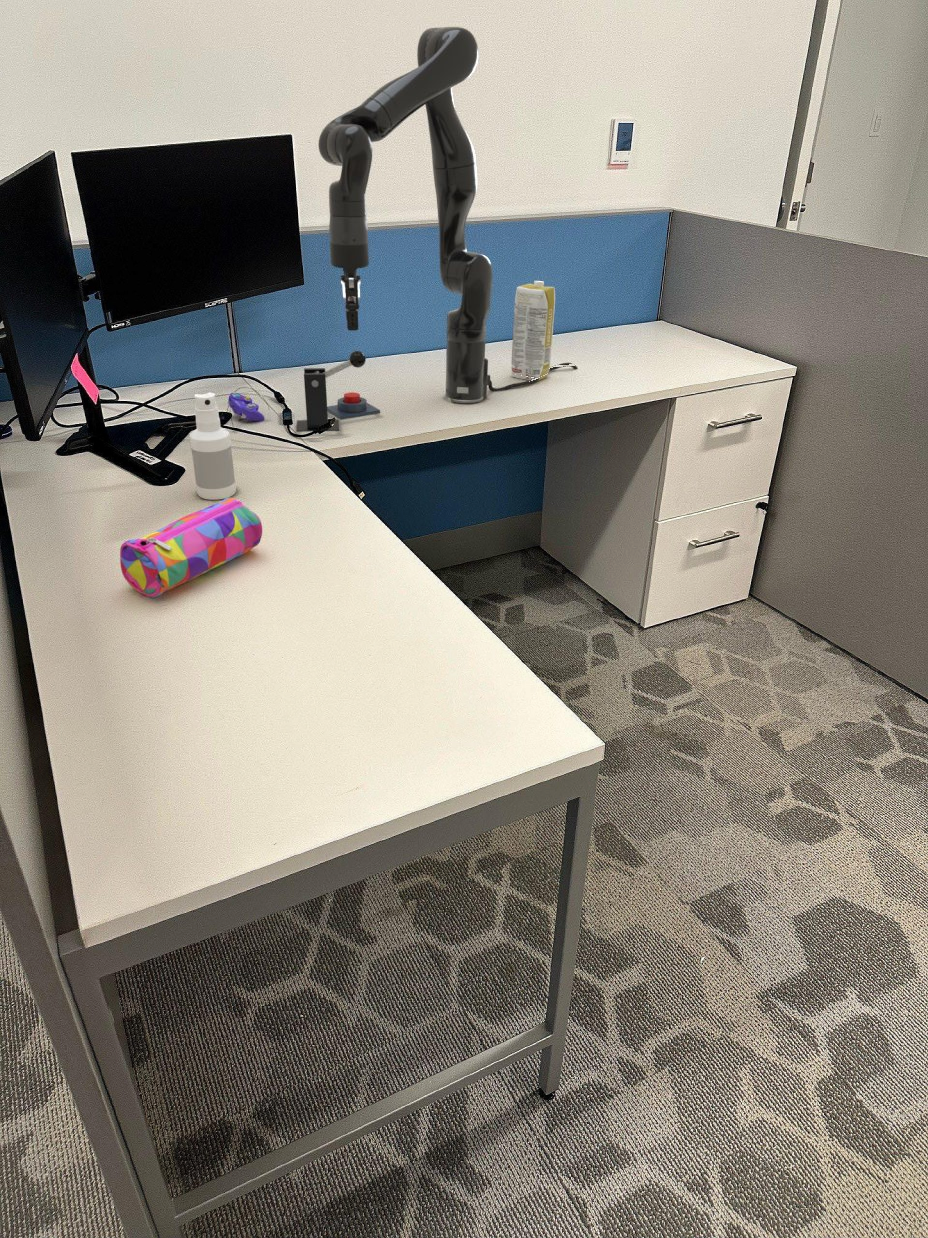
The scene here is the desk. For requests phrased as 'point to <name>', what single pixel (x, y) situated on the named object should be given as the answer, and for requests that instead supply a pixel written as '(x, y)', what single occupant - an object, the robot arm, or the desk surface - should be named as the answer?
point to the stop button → (351, 397)
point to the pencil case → (189, 547)
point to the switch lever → (347, 363)
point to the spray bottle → (211, 451)
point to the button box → (352, 409)
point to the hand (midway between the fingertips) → (352, 325)
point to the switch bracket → (315, 402)
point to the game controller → (244, 407)
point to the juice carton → (532, 330)
